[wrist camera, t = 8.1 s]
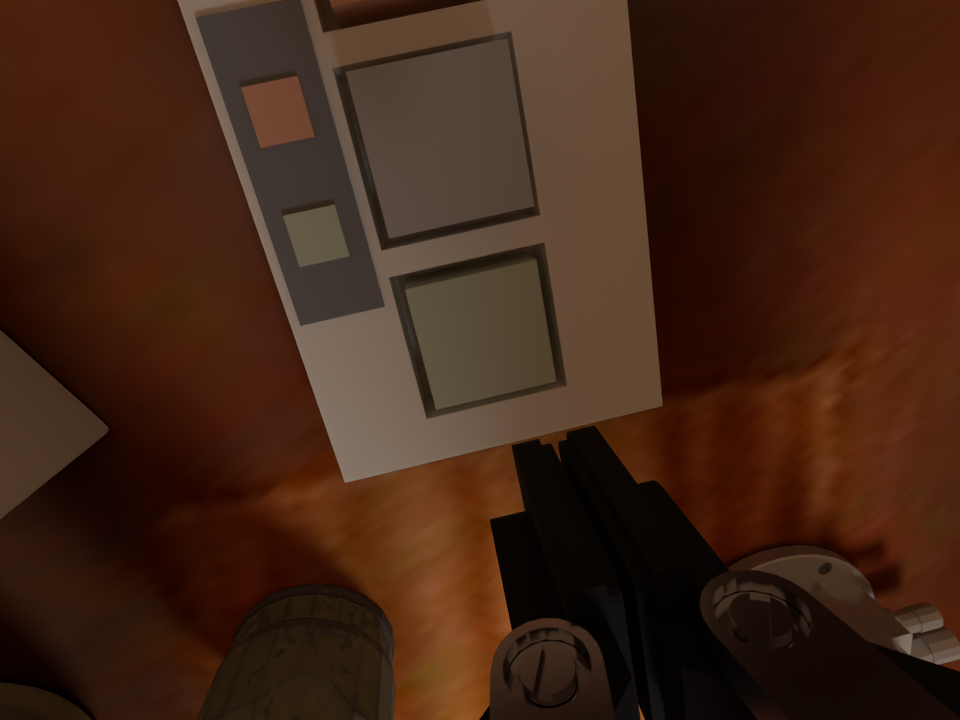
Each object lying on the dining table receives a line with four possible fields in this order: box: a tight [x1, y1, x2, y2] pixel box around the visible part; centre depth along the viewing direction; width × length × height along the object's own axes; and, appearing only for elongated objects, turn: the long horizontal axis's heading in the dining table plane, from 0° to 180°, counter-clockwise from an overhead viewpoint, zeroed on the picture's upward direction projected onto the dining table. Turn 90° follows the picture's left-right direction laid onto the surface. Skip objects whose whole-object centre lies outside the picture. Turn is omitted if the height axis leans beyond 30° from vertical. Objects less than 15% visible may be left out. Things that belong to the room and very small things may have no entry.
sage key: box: [405, 252, 556, 410], centre depth 21 cm, size 5×5×2 cm
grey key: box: [346, 38, 534, 239], centre depth 17 cm, size 5×5×2 cm
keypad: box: [178, 0, 663, 483], centre depth 19 cm, size 14×24×4 cm, turn 11°
